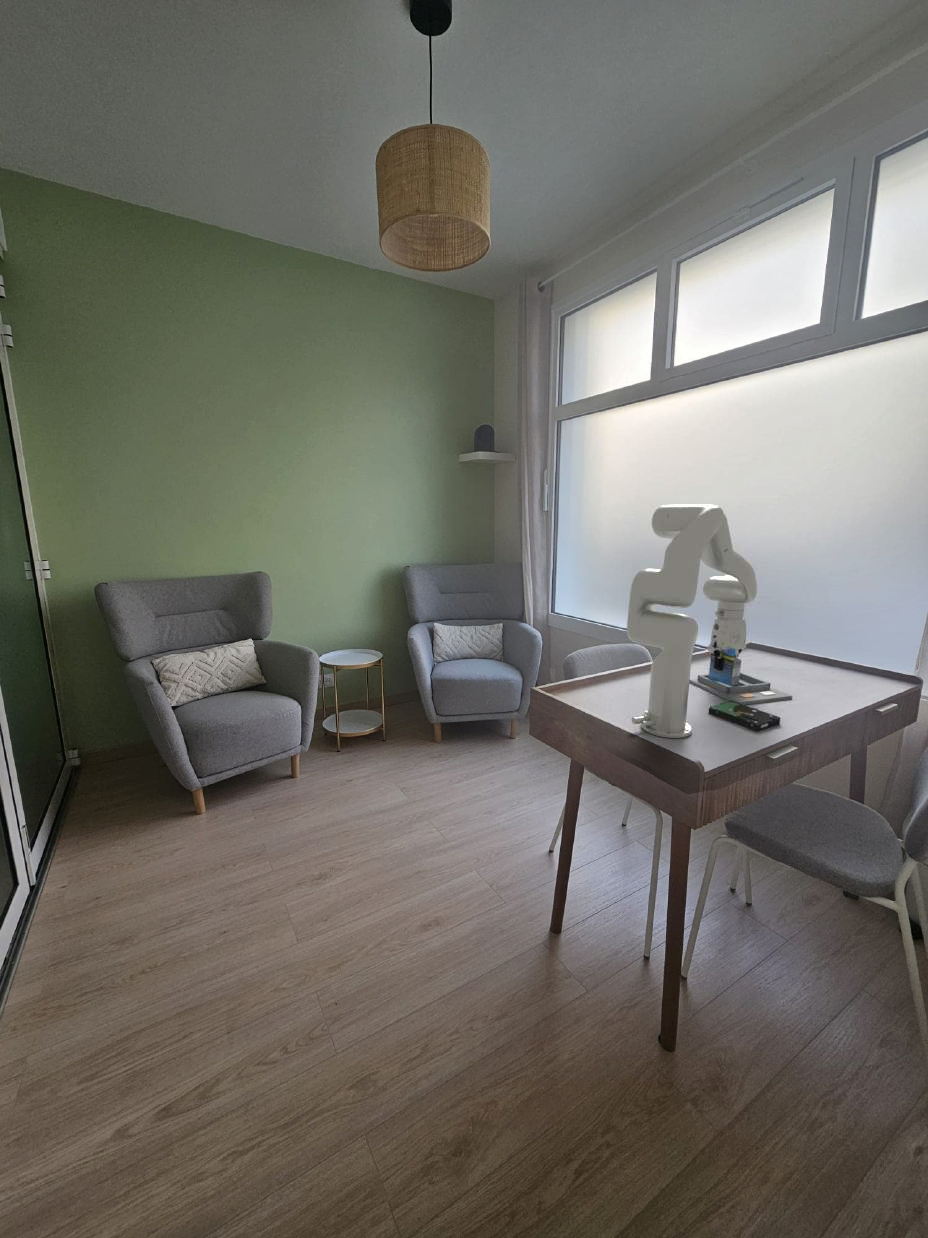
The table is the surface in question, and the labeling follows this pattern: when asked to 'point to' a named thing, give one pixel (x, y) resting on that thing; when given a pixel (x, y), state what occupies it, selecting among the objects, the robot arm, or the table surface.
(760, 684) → the grey compartment tray
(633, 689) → the table surface
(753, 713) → the disk drive
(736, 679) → the label tape box
